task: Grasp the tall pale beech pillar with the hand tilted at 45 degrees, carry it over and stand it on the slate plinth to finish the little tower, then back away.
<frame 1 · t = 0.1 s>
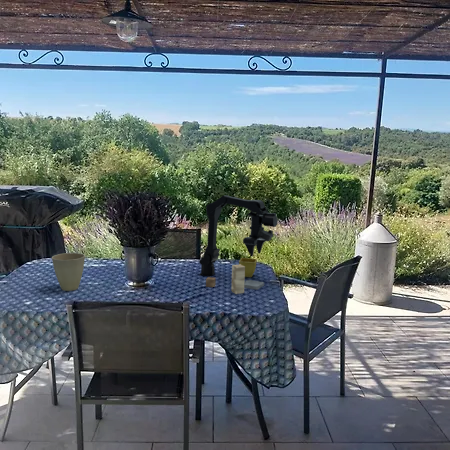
hand: (255, 254, 233), 15 cm above the table, tool pointing down, fingers open, 9 cm apart
walnut cube: (210, 286, 227), on the table
flower pot: (247, 276, 247), on the table
slate plinth: (252, 286, 228), on the table
plant pot: (69, 289, 216), on the table
beech pillar: (237, 292, 218), on the table
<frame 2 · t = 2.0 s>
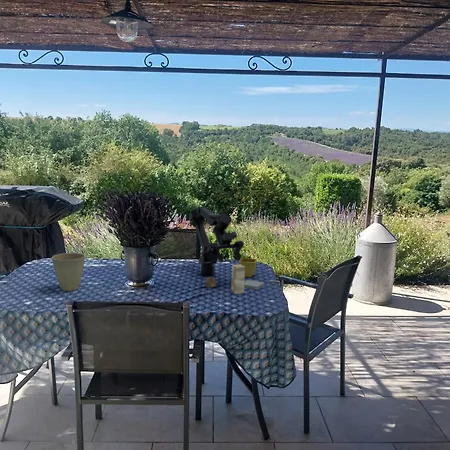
hand: (230, 261, 223), 13 cm above the table, tool tilted 45°, fingers open, 9 cm apart
nothing on the table moved.
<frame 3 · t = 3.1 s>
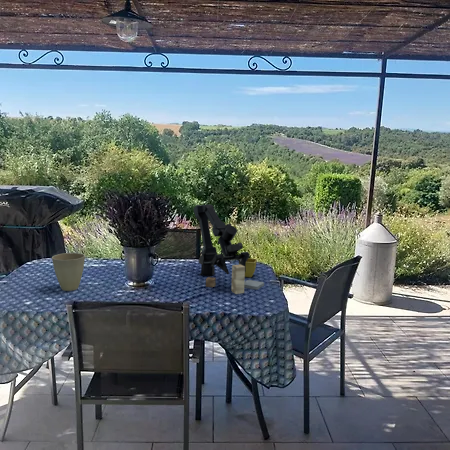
hand: (236, 273, 218), 9 cm above the table, tool tilted 45°, fingers open, 9 cm apart
nothing on the table moved.
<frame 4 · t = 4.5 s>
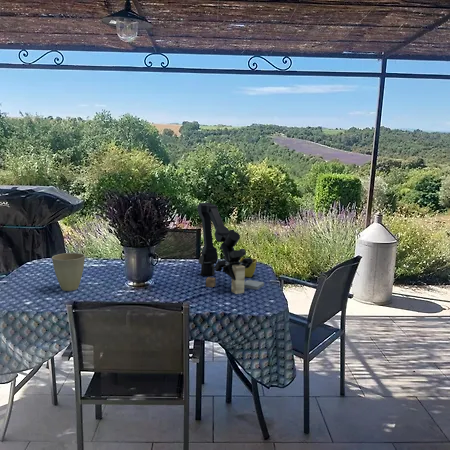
hand: (239, 279, 216), 7 cm above the table, tool tilted 45°, fingers closed on beech pillar, 4 cm apart
beech pillar: (237, 292, 218), on the table, touching gripper
everything else where it was.
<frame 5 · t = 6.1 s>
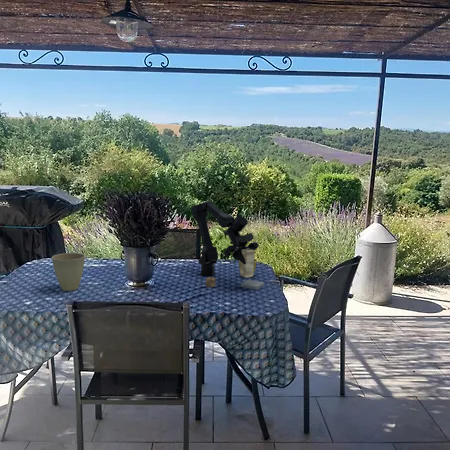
hand: (249, 263, 220), 13 cm above the table, tool tilted 45°, fingers closed on beech pillar, 4 cm apart
beech pillar: (246, 275, 222), point 7 cm above the table, touching gripper
everything else where it was.
when the fingers open (9 cm above the table, at t = 8.0 s): beech pillar stays where it is, resting on slate plinth.
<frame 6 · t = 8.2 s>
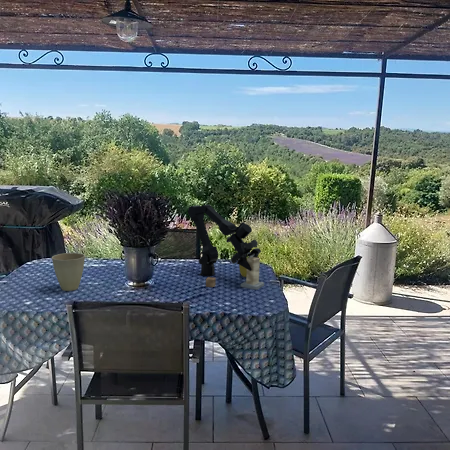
hand: (255, 269, 226), 9 cm above the table, tool tilted 45°, fingers open, 7 cm apart
beech pillar: (252, 283, 228), point 1 cm above the table, touching slate plinth
everything else where it was.
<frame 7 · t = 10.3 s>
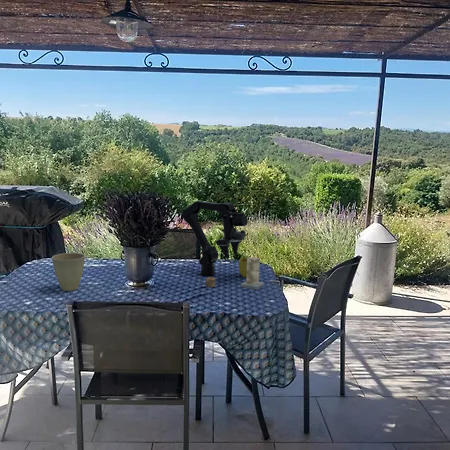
hand: (231, 256, 238), 13 cm above the table, tool pointing down, fingers open, 9 cm apart
nothing on the table moved.
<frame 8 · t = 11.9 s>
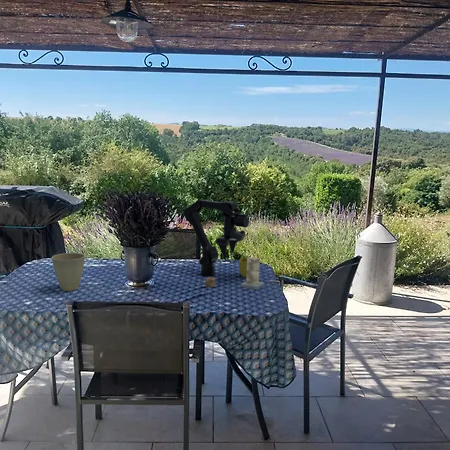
hand: (228, 254, 239), 13 cm above the table, tool pointing down, fingers open, 9 cm apart
nothing on the table moved.
at the end: beech pillar inside the target area on the slate plinth (0.0 cm from its centre), point 1.5 cm above the slate plinth's base; beech pillar tilted 0°; the gripper is holding nothing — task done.
